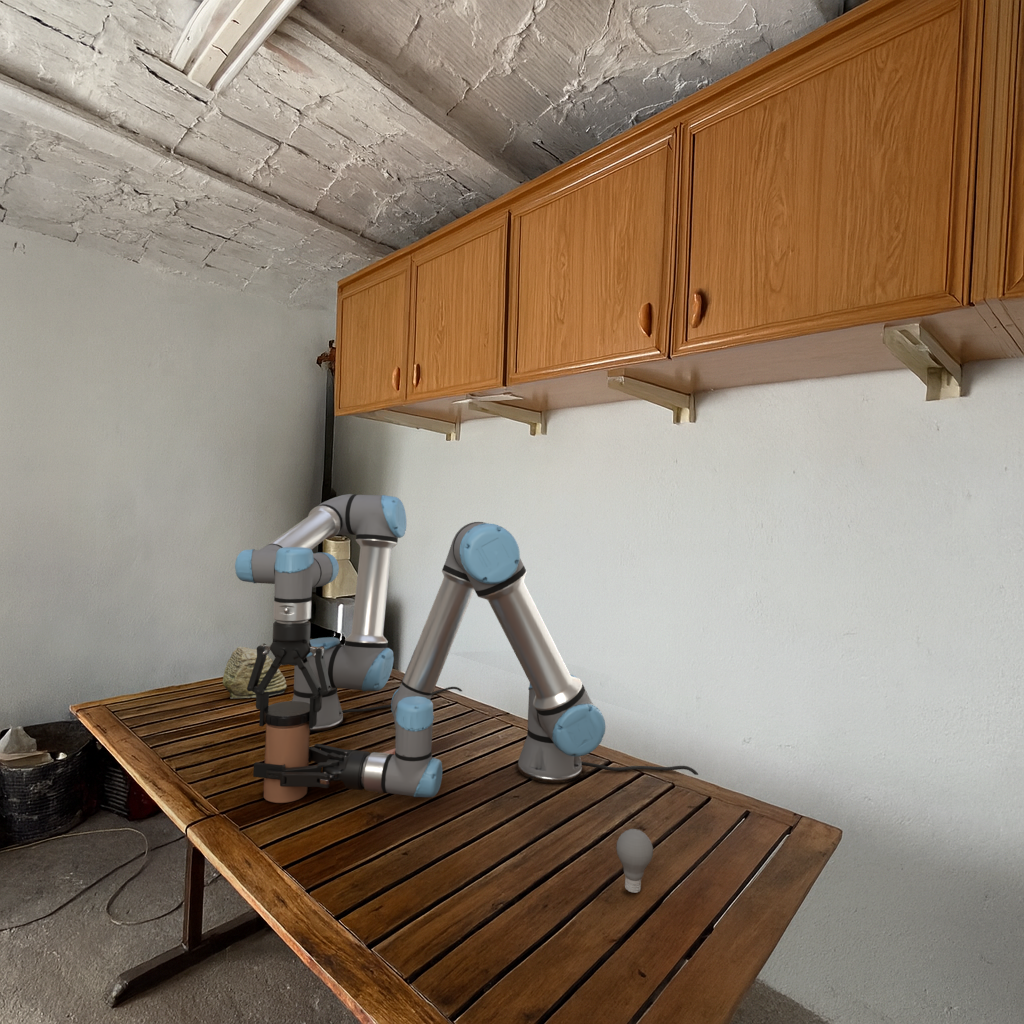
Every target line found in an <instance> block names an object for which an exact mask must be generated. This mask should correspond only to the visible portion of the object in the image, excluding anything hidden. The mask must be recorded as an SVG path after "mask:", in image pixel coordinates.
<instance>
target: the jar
mask: <svg viewBox="0 0 1024 1024" xmlns="http://www.w3.org/2000/svg"><path fill="white" fill-rule="evenodd" d="M310 736H311V732H310V729H309V721H308V722H306V723H303V724H300V725H295V726H273V725H269V724H267V723H266V724H265V740H264V741H265V742H264V763H267V764H276V765H284V764H285V768H291V767H303V766H310V765H309V763H310V762H309V747H310V738H311V737H310ZM308 788H309V787H282V786H280V780H278V779H269V778H263V793H262V794H263V798H264V800H265V801H268V802H270V803H276V804H285V803H291V802H295V801H298V800H300V799H302V798H304V797H305V796H306V795H307V793H308V790H309V789H308Z"/></svg>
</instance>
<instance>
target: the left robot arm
mask: <svg viewBox="0 0 1024 1024" xmlns="http://www.w3.org/2000/svg"><path fill="white" fill-rule="evenodd" d="M406 531H407V514H406V509H405V505H404V504H403V501H402V500H401V499H400V497H399V498H398V497H397V496H393V495H385V494H356V493H355V494H354V493H348V494H342V495H339V496H335V497H332V498H330V499H328V500H325V501H323V502H321V503H320V504H318V505H316V506H315V507H313V508H312V509H311V510H310V511H309V513H308V514H307V516H306V517H305V518H304V519H302V520H300V521H299V522H298V523H296V524H295V525H294V526H292V527H291V528H289V529H288V530H286V531H285V532H284V533H282V534H280V535H279V536H278V537H276V538H274V539H273V540H272V541H270V542H269V543H268V544H266V545H264V546H263V547H261V548H260V549H255V548H252V549H242V550H241V551H240V552H239V553H238V555H237V557H236V559H235V563H234V569H235V575H236V577H237V579H238V580H240V581H241V582H246V583H253V584H267V585H268V584H269V585H274V596H273V618H272V619H273V620H275V621H274V622H273V623H272V641H271V644H266V643H261V644H260V645H258V646H257V647H256V649H257V658H256V661H255V665H254V668H253V671H252V674H251V677H250V680H249V683H248V687H247V690H248V691H252V692H254V693H255V694H256V697H255V709H256V710H259V721H258V722H259V724H258V725H259V726H258V727H264V726H266V723H265V722H264V720H263V715H264V709H265V708H266V707H267V706H269V705H270V704H269V703H270V696H269V692H265V690H266V688H267V686H268V685H269V683H270V681H271V680H272V678H273V677H274V675H275V673H276V672H277V670H278V669H279V668H280V667H281V666H288V665H290V666H293V667H294V672H293V695H292V696H293V697H292V699H291V701H301V702H306V703H309V704H310V712H309V729H310V733H316V732H325V731H329V730H332V729H335V728H337V727H339V726H340V725H342V723H343V722H344V714H345V713H347V714H348V713H361V712H369V711H376V710H380V709H382V710H383V709H388V708H391V704H385V705H379V706H373V707H366V708H352V709H342V706H341V702H340V699H339V695H338V689H342V690H343V689H345V690H352V691H353V690H356V691H362V692H379V691H381V690H382V689H383V688H384V687H385V686H386V684H387V683H388V681H389V679H390V676H391V675H392V670H393V668H394V667H393V666H394V661H395V657H394V651H393V650H392V649H391V648H390V647H388V644H389V643H388V642H389V641H388V640H387V638H386V637H385V636H384V629H385V620H386V619H385V618H386V607H387V599H388V588H389V577H390V567H391V558H392V557H391V556H392V550H393V549H394V548H395V547H396V546H397V545H398V540H399V539H401V538H403V537H404V536H405V534H406ZM337 535H351V536H355V542H356V543H357V544H358V545H359V548H360V549H359V557H358V558H359V559H358V569H357V577H356V587H355V595H354V606H353V614H352V623H351V633H350V634H349V635H348V636H347V637H346V638H345V639H344V644H341V641H340V639H339V638H338V637H334V636H331V637H330V636H327V637H326V636H325V637H318V638H313V639H311V621H310V619H312V594H313V589H315V588H318V587H324V586H327V585H328V584H330V583H332V582H334V581H335V580H336V578H337V577H338V575H339V572H340V566H339V562H338V559H336V557H335V556H334V555H333V554H331V553H328V552H320V551H318V552H315V553H314V552H313V549H315V548H316V547H317V546H319V544H321V543H322V542H324V541H325V540H328V539H332V538H334V537H336V536H337ZM270 652H271V654H272V655H273V656H274V659H273V662H272V664H271V667H270V668H269V670H268V671H267V673H266V675H265V676H264V678H263V680H262V681H261V683H260V685H258V682H259V679H260V676H261V673H262V670H263V666H264V663H265V660H266V657H267V655H269V654H270ZM449 690H457V691H458V692H463V690H462V689H461V688H460V687H458V686H448V687H444V688H442V689H438V690H434V691H433V694H432V696H434V695H435V694H439V693H444V692H446V691H449Z"/></svg>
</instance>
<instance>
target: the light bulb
mask: <svg viewBox="0 0 1024 1024" xmlns="http://www.w3.org/2000/svg"><path fill="white" fill-rule="evenodd" d="M615 849H616V854H617V857H618V859H619V861H620V863H621V865H622V867H623V873H624V874H623V875H624V876H625V878H624V888H625V890H627V891H628V892H630V893H634V894H635V893H639V892H640V891H641V889H642V887H641V886H642V879H643V877H644V875H645V871H646V868H647V867H648V866H649V864H650V863H651V861H652V859H653V855H654V847H653V843H652V841H651V838H649V836H648V835H647V834H646V833H645V832H643V831H642V830H641V829H636V828H629V829H627V830H625V831H623V832H622V833H621V834H620V835H619V837H618V839H617V841H616V847H615Z"/></svg>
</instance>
